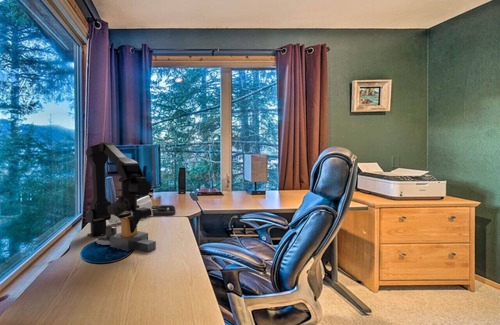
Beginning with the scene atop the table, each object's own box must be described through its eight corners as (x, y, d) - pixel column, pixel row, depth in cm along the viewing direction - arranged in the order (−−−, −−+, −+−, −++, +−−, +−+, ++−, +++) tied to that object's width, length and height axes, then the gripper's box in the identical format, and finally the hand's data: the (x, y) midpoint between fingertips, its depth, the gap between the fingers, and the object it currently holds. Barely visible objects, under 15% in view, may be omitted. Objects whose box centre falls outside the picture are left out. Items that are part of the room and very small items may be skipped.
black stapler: (134, 202, 171) (176, 201, 174) (134, 213, 172) (176, 212, 174) (129, 205, 162) (174, 204, 165) (129, 216, 163) (174, 215, 165)
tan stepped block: (120, 241, 111) (120, 218, 111) (132, 237, 116) (132, 215, 116) (125, 242, 110) (125, 219, 109) (137, 238, 115) (137, 216, 115)
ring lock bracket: (90, 243, 115) (90, 228, 115) (113, 236, 125) (113, 222, 125) (140, 255, 103) (140, 239, 103) (162, 246, 113) (162, 231, 113)
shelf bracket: (155, 216, 163) (151, 196, 161) (116, 236, 143) (111, 212, 140) (149, 215, 166) (145, 195, 163) (109, 234, 146) (104, 211, 143)
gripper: (94, 194, 109) (95, 234, 110) (129, 198, 101) (129, 241, 102) (119, 190, 119) (119, 227, 120) (152, 194, 111) (152, 233, 112)
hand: (129, 232), depth 113 cm, fingers closed on tan stepped block, 3 cm apart
